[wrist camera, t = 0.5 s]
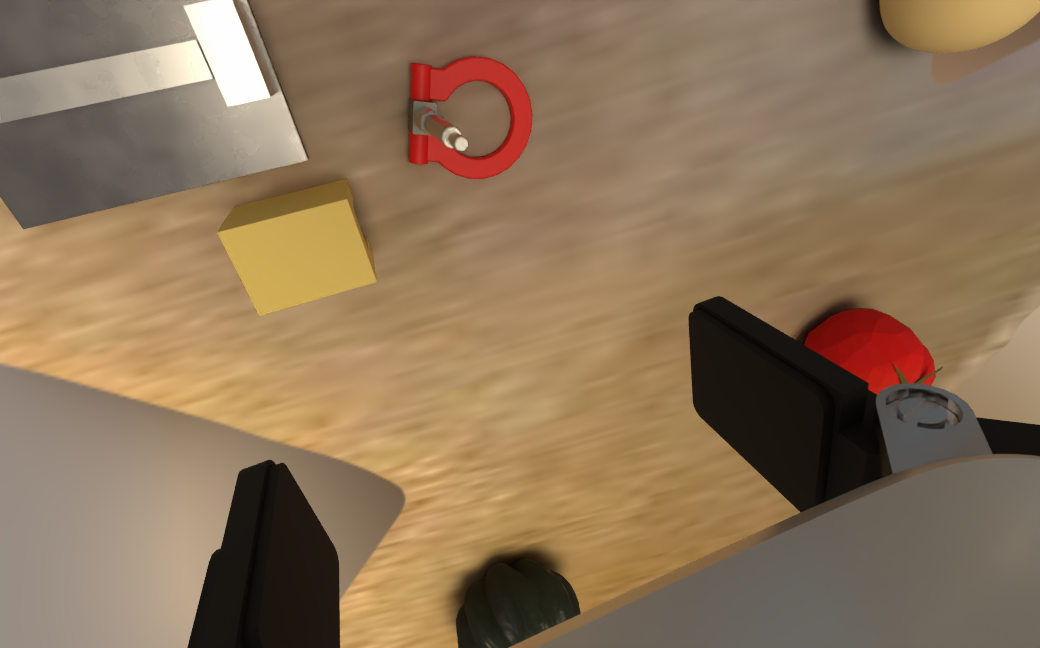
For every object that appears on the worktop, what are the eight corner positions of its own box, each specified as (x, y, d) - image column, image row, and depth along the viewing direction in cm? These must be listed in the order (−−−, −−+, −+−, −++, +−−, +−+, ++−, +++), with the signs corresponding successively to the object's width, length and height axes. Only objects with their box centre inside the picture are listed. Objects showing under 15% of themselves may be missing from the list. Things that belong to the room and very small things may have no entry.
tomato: (882, 293, 61) (985, 340, 51) (840, 388, 67) (925, 447, 57) (801, 296, 57) (895, 347, 48) (763, 396, 63) (840, 460, 54)
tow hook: (533, 64, 39) (408, 47, 36) (618, 74, 28) (451, 51, 25) (520, 178, 43) (405, 172, 39) (591, 225, 32) (442, 222, 29)
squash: (410, 652, 57) (507, 774, 52) (492, 556, 55) (602, 675, 50) (465, 597, 70) (547, 690, 66) (534, 518, 68) (623, 609, 63)
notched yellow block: (234, 206, 37) (217, 232, 32) (346, 178, 38) (347, 198, 33) (269, 281, 40) (259, 315, 35) (372, 252, 41) (376, 282, 36)
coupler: (-150, -31, 27) (-246, -46, 22) (214, -89, 30) (192, -112, 25) (29, 225, 34) (-17, 252, 29) (308, 158, 37) (304, 173, 32)
